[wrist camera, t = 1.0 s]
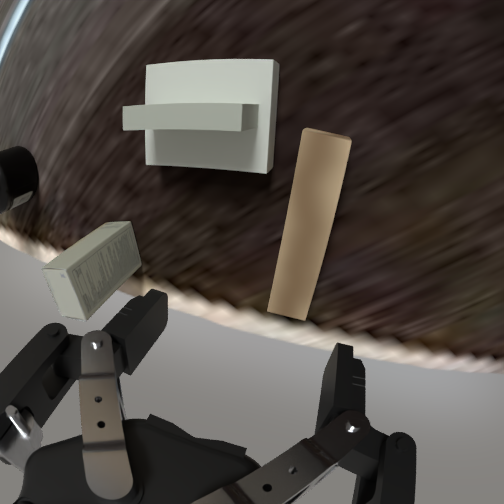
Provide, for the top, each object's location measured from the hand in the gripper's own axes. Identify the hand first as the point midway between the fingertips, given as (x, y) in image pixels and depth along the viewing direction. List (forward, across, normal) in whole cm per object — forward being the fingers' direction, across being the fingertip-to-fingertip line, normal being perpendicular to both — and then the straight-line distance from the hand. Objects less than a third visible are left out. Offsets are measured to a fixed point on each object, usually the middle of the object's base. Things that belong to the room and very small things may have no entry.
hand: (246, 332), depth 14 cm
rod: (+19, -1, +1) cm, 20 cm away
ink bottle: (+19, +41, +3) cm, 45 cm away
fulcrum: (+19, +10, -8) cm, 23 cm away
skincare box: (+19, +20, +10) cm, 29 cm away
